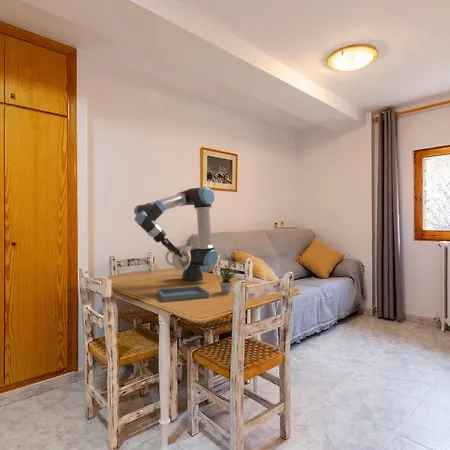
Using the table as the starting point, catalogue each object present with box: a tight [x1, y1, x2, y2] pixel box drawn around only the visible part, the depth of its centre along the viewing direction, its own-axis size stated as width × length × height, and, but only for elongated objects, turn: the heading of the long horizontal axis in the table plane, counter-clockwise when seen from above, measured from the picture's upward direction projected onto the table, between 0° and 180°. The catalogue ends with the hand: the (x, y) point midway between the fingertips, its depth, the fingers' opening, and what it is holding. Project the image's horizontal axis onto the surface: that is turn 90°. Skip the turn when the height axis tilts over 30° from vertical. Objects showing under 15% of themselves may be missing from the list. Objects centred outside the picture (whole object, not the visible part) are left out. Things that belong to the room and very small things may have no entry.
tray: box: [156, 285, 210, 303], centre depth 182 cm, size 25×18×3 cm
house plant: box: [214, 266, 238, 294], centre depth 191 cm, size 14×14×16 cm
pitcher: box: [165, 245, 194, 271], centre depth 195 cm, size 11×18×14 cm, turn 121°
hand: (182, 259), depth 195 cm, fingers closed on pitcher, 11 cm apart
